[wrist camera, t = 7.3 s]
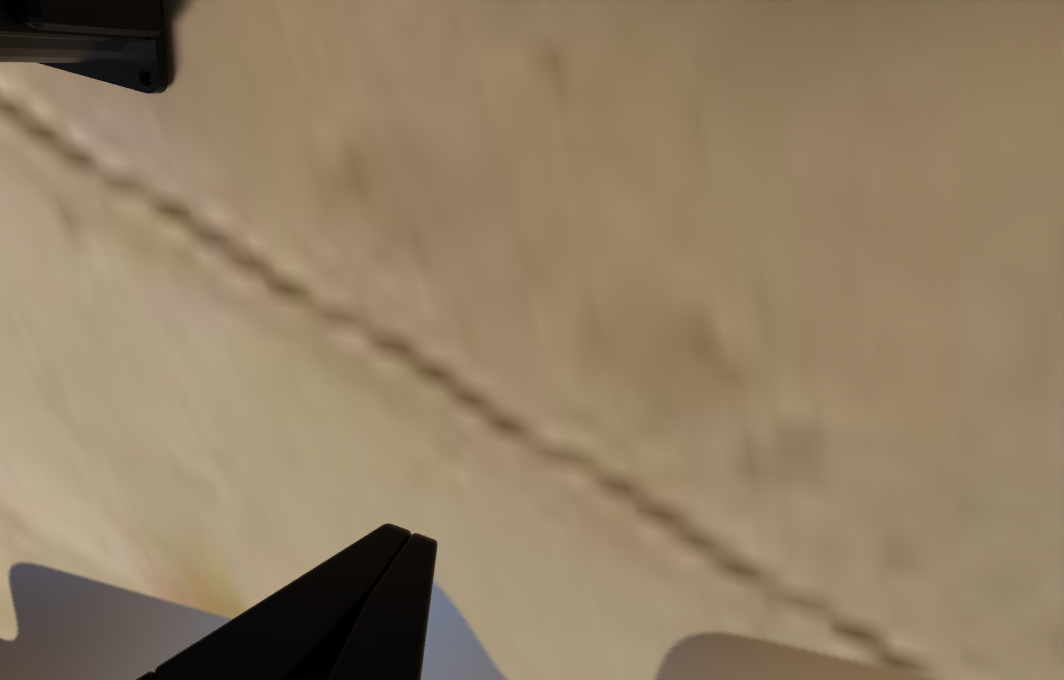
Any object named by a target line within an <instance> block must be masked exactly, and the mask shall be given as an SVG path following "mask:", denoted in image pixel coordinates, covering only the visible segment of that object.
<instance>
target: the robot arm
mask: <svg viewBox="0 0 1064 680" xmlns="http://www.w3.org/2000/svg"><path fill="white" fill-rule="evenodd" d="M0 62H36V63H40V64H44V65H47V66H51V67H54V68H58V69H61V70H65V71H69V72H72V73H76V74H79V75H83V76H87V77H90V78H94V79H97V80H101V81H104V82H108V83H112V84H115V85H119V86H122V87H126V88H129V89H133V90H137V91H140V92H144V93H162V92H164V91H165V90H166V88H167V86H168V74H167V60H166V46H165V33H164V19H163V5H162V0H0ZM149 73H150V74H151V77H152V82H151V81H150V79H149V76H148V75H149ZM436 553H437V541H436V540H434V539H432V538H429V537H426V536H423V535H421V534H418V533H414V534H412V535H411V532H410V531H409V530H407V529H404V528H401V527H399V526H396V525H393V524H389V523H388V524H384V525H382V526H380V527H379V528H377V529H376V530H374V531H372V532H371V533H369V534H368V535H366V536H364V537H363V538H361V539H360V540H358V541H356V542H355V543H353V544H352V545H350V546H349V547H347V548H345V549H344V550H342V551H341V552H339V553H337V554H336V555H334V556H333V557H331V558H329V559H328V560H326V561H325V562H323V563H321V564H320V565H318V566H317V567H315V568H313V569H312V570H310V571H309V572H307V573H306V574H304V575H302V576H301V577H299V578H298V579H296V580H294V581H293V582H291V583H290V584H288V585H286V586H285V587H283V588H282V589H280V590H278V591H277V592H275V593H274V594H272V595H270V596H269V597H267V598H266V599H264V600H262V601H261V602H259V603H258V604H256V605H255V606H253V607H251V608H250V609H248V610H247V611H245V612H243V613H242V614H240V615H239V616H237V617H235V618H234V619H232V620H231V621H229V622H227V623H226V624H224V625H223V626H221V627H219V628H218V629H216V630H215V631H213V632H212V633H210V634H208V635H207V636H205V637H204V638H202V639H200V640H199V641H197V642H196V643H194V644H192V645H191V646H189V647H188V648H186V649H184V650H183V651H181V652H180V653H178V654H176V655H175V656H173V657H172V658H170V659H168V660H167V661H165V662H164V663H162V664H161V665H159V666H157V667H156V669H155V673H153V671H149V672H147V673H146V674H144V675H142V676H141V677H139V678H138V679H136V680H421V672H422V664H423V656H424V647H425V641H426V633H427V625H428V617H429V609H430V601H431V593H432V585H433V577H434V569H435V561H436Z"/></svg>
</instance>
